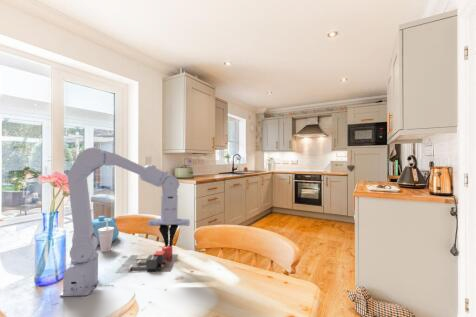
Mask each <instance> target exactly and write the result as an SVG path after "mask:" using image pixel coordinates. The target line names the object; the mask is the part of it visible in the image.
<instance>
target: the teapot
mask: <svg viewBox="0 0 476 317" xmlns="http://www.w3.org/2000/svg"><path fill="white" fill-rule="evenodd" d="M106 219H108V227H114V231H113V237H112V242H113V241H115V240H116V239H117V238H118V237H119V233H120V232H119V228H118V225H117V224H116V223H117V219H116V218H115V217H106V216H105V215H99V216H97V218H96V219H92V226H93V228H94V232H95V234H96V236H97V237H98V239H99V233H98V229H100V228H103V227H106ZM98 246H100V239H99V244H98Z"/></svg>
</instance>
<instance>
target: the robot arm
mask: <svg viewBox="0 0 476 317" xmlns="http://www.w3.org/2000/svg"><path fill="white" fill-rule="evenodd" d="M103 166H104V167H105V166H106V167H107V166H116V167H118V168H121V169H125V170H127V171H129V172H132V173H134V174H137V175H139V177H140V180H141V181H143V182H146V183H148V184H150V185H152V186H154V187H157V188H159V187H161V188H162V189H161V198H160V199H161V200H160V203H161V204H160V207H161V208H160V218H157V219H155V218H154V219H149V220H147V227H153V226H154V227H158V226H159V228H158V230H159V232H160V234H161V236H162V239H163V242H164V246H165V247H167V246H168V245H169V247H171V246H172V247H173V243H174V242H173V241H174V237H175V235H176V233H177V231H178V228H179V226H181V227H183V226H186V227H189V226H190V223H191V220H190V219H189V218H187V219H186V218H178V207H179V206H178V198H179V197H178V189H179V188H180V183H179V182H180V181H179V179H178V178H177V177H176V176H175V175H172V174H169V172H168V171H163V170H161V169H159V168H157V166H156V165H154V164H152V165H150V164H148V165H147V164H146V165H144V166H143V165H141V164H139V163H136V162H134V161H132V160H131V159H127V158H126V157H124V156H122V155H119V154H117V153H114V152H110V151H106V150H103V149H100V148H97V147H88V148H85V149H84V150H82V151H81V152H80V153H78V154H77V155H76V158H75V160H74V163H73V164H72V165H71V167H70V169H69V170H68V172H67V182H68V183H67V184H68V191H69V201H70V209H71V216H72V217H71V218H72V226H73V227H72V228H73V233H72V238H71V245H72V246H71V248H70V250H69V257H70V264H69V266H68V267H67V269H65V271H64V273H63V279H62V280H63V284H62V286H63V287H62V292H61V293H60V294H59V296H60V297H78V296H79V297H81V296H82V297H83V296H88V295H89V294H91V292H93V291H94V290H95V289H96V288H97V287H98V284H97V282H98V279H99V253H98V252H97V251H96V250H97V247H98V246H99V245H98V244H99V239H98V237H97V236H96V234H95V232H94V228H93V226H92V220H93V219H92V211H91V210H92V209H91V202H90V193H89V184H88V177H89V176H91V175H92V174H93V172H95V170H98V169H100V168H101V167H103Z"/></svg>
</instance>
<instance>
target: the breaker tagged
mask: <svg viewBox="0 0 476 317" xmlns="http://www.w3.org/2000/svg"><path fill="white" fill-rule="evenodd" d="M153 255H154V256H158V264H163V262H164V261H165V251H162V250H161V251H160V250H157V251H156V252H154V254H153Z"/></svg>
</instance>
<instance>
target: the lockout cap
mask: <svg viewBox="0 0 476 317" xmlns="http://www.w3.org/2000/svg"><path fill="white" fill-rule="evenodd" d="M161 251H165V259H170V258H172V254H173V245H172V246H171V247H169V244H168V246H167V247H165V245H163V246H162V247H161Z"/></svg>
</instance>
